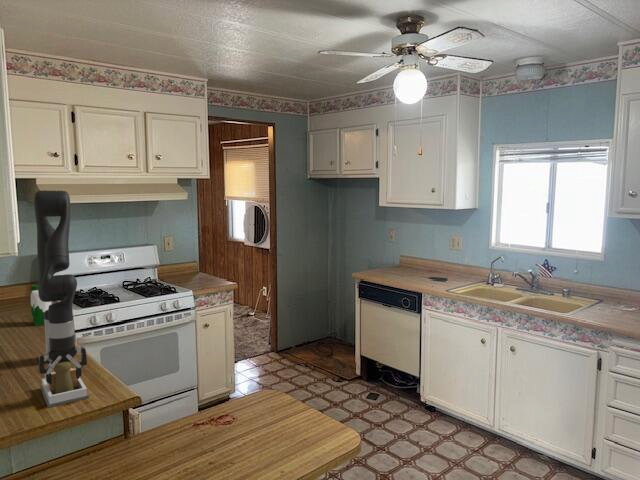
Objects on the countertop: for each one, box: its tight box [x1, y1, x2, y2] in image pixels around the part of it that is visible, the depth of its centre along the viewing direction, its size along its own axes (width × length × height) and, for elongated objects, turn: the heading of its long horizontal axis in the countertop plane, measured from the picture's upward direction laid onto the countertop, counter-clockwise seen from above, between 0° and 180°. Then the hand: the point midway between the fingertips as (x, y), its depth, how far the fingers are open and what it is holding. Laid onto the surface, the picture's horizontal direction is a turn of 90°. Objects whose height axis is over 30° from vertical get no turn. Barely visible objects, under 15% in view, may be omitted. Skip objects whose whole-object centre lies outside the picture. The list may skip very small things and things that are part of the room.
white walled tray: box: [40, 367, 90, 408], centre depth 164 cm, size 18×12×5 cm, turn 36°
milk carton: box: [30, 284, 53, 327], centre depth 245 cm, size 9×9×20 cm
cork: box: [53, 361, 74, 394], centre depth 161 cm, size 6×6×11 cm
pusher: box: [49, 367, 77, 392], centre depth 165 cm, size 4×8×6 cm, turn 126°
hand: (64, 380), depth 162 cm, fingers open, 8 cm apart
